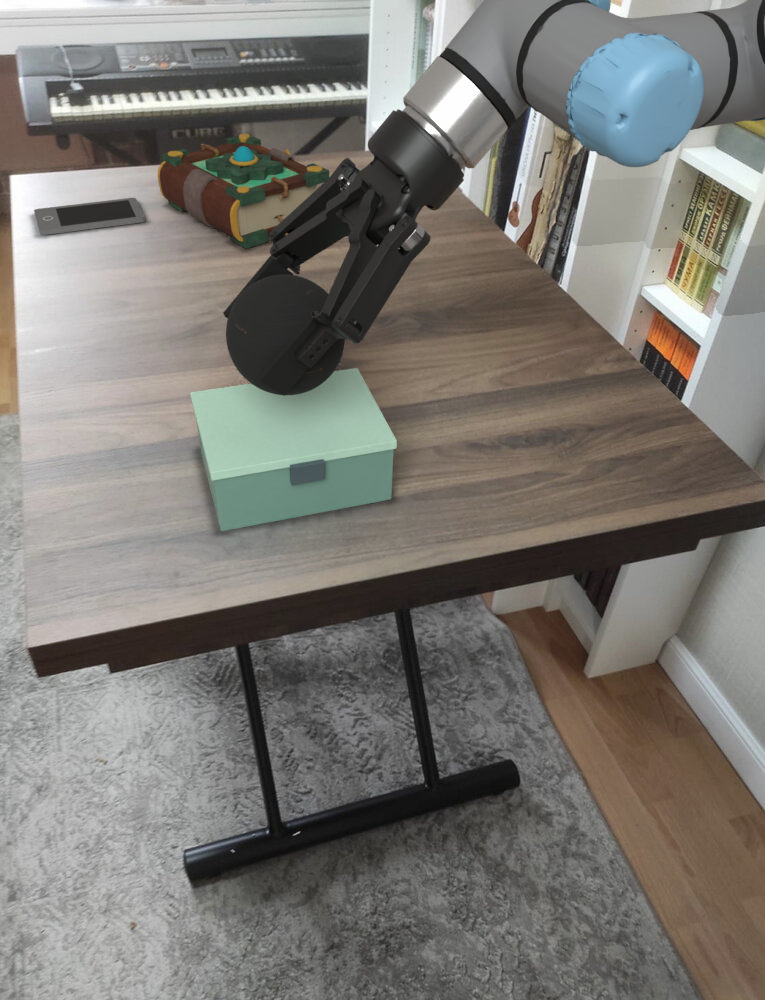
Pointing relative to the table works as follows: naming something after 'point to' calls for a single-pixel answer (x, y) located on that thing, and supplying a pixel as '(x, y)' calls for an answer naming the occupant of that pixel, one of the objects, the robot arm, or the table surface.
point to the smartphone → (88, 216)
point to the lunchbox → (293, 450)
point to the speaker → (276, 328)
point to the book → (238, 186)
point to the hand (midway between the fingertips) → (252, 352)
